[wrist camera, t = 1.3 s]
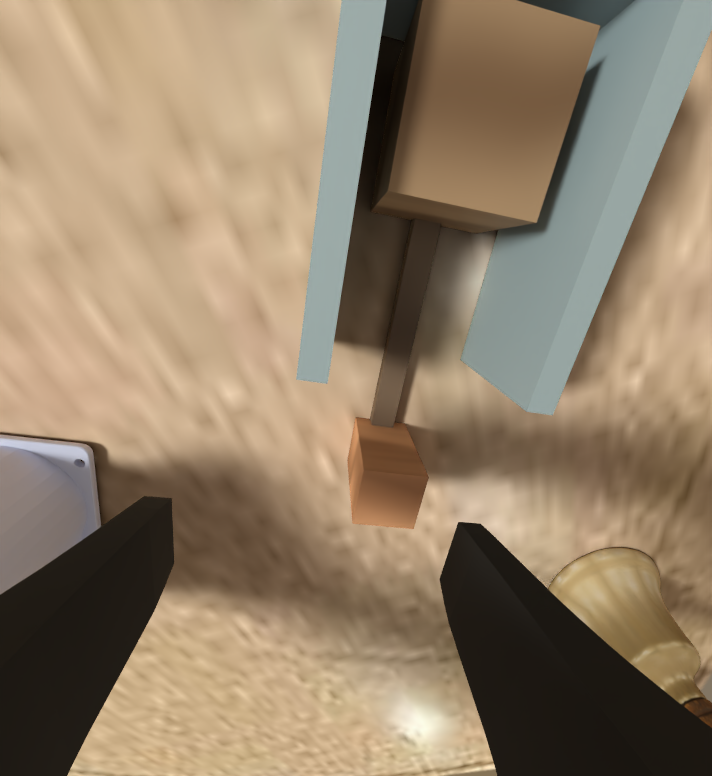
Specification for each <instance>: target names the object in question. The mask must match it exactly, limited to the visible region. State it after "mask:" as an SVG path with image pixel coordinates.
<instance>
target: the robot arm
mask: <svg viewBox="0 0 712 776" xmlns="http://www.w3.org/2000/svg"><path fill="white" fill-rule="evenodd" d="M80 459H81V460H83V461H84V462H85V463H83V462H81V461H80ZM173 564H174V548H173V523H172V498H160V497H147V496H144V497H143V498H141V499H140V500H139V501H137V502H136V503H134V504H133V505H131V506H130V507H128V508H127V509H126V510H124V511H123V512H121V513H120V514H118V515H117V516H116V517H114V518H113V519H111V520H110V521H109V522H107V523H106V524H104V525H103V526H101V520H100V511H99V501H98V492H97V483H96V473H95V464H94V455H93V450H92V449H91V448H90V446H88V445H86V444H82V443H74V442H64V441H55V440H46V439H37V438H27V437H18V436H9V435H0V776H67V775H68V773H69V770H70V768H71V766H72V764H73V762H74V760H75V758H76V756H77V754H78V752H79V750H80V748H81V746H82V744H83V742H84V740H85V738H86V737H87V735H88V733H89V731H90V729H91V727H92V725H93V723H94V722H95V720H96V718H97V716H98V714H99V712H100V710H101V709H102V707H103V705H104V703H105V701H106V699H107V698H108V696H109V694H110V692H111V690H112V688H113V686H114V685H115V683H116V681H117V679H118V677H119V675H120V674H121V672H122V670H123V668H124V666H125V664H126V662H127V661H128V659H129V657H130V655H131V653H132V651H133V650H134V648H135V646H136V644H137V642H138V640H139V638H140V636H141V635H142V633H143V631H144V629H145V627H146V625H147V623H148V622H149V620H150V618H151V616H152V614H153V612H154V610H155V608H156V606H157V603H158V601H159V599H160V596H161V594H162V592H163V589H164V587H165V584H166V582H167V579H168V577H169V574H170V572H171V569H172V567H173ZM440 583H441V589H442V594H443V599H444V604H445V608H446V612H447V617H448V621H449V625H450V628H451V631H452V634H453V637H454V641H455V644H456V647H457V650H458V653H459V656H460V659H461V662H462V665H463V668H464V671H465V674H466V677H467V680H468V683H469V686H470V689H471V692H472V695H473V698H474V701H475V704H476V707H477V710H478V713H479V716H480V719H481V722H482V725H483V728H484V731H485V734H486V738H487V741H488V744H489V748H490V751H491V754H492V758H493V761H494V764H495V768H496V772H497V776H712V728H711V727H710V726H709V725H707V724H706V723H705V722H703V721H702V720H701V719H699V718H698V717H697V716H696V715H694V714H693V713H692V712H690V711H689V710H688V709H686V708H685V707H684V706H683V705H681V704H680V703H679V702H677V701H676V700H675V699H674V698H672V697H671V696H670V695H669V694H668V693H666V692H665V691H664V690H663V689H661V688H660V687H659V686H658V685H656V684H655V683H654V682H653V681H652V680H650V679H649V678H648V677H647V676H645V675H644V674H643V673H642V672H640V671H639V670H638V669H637V668H635V667H634V666H633V665H632V664H631V663H629V662H628V661H627V660H626V659H625V658H624V657H622V656H621V655H620V654H619V653H618V652H616V651H615V650H614V649H613V648H612V647H611V646H610V645H608V644H607V643H606V642H605V641H604V640H603V639H602V638H601V637H599V636H598V635H597V634H596V633H595V632H594V631H593V630H592V629H590V628H589V627H588V626H587V625H586V624H585V623H584V622H583V621H581V620H580V619H579V618H578V617H577V616H576V615H575V614H574V613H573V612H572V611H571V610H570V609H568V608H567V607H566V606H565V605H564V604H563V603H562V602H561V601H560V600H559V599H558V598H557V597H556V596H555V595H554V594H552V593H551V592H550V591H549V590H548V589H547V588H546V587H545V586H544V585H543V584H542V583H541V582H540V581H539V580H538V579H537V578H536V577H535V576H534V575H533V574H532V573H531V572H530V571H529V570H528V569H527V568H526V567H525V566H524V565H523V564H522V563H521V562H520V561H519V560H518V559H517V558H516V557H515V556H514V555H512V554H511V553H510V552H509V551H508V550H507V549H506V548H505V547H504V546H503V545H502V544H501V543H500V542H499V541H498V540H497V539H496V538H495V537H494V536H493V535H492V534H491V533H490V532H489V531H488V530H487V529H486V528H485V527H483V526H482V525H481V524H477V523H464V522H458V525H457V528H456V531H455V534H454V537H453V540H452V543H451V546H450V549H449V552H448V555H447V558H446V561H445V565H444V568H443V571H442V574H441V577H440Z"/></svg>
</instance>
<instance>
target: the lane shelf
mask: <svg viewBox="0 0 712 776" xmlns="http://www.w3.org/2000/svg"><path fill="white" fill-rule="evenodd" d="M517 1H520V2H524V3H527V4H530V5H534V6H537V7H540V8H544V9H547V10H550V11H554V12H557V13H560V14H564V15H567V16H570V17H573V18H577V19H580V20H583V21H587V22H590V23H593V24H597V25H600V29H599V32H598V35H597V38H596V41H595V44H594V47H593V51H592V54H591V57H590V60H589V63H588V66H587V69H586V72H585V75H584V78H583V81H582V84H581V88H580V91H579V94H578V97H577V100H576V103H575V106H574V109H573V112H572V115H571V118H570V121H569V125H568V128H567V131H566V134H565V137H564V140H563V143H562V146H561V149H560V152H559V155H558V158H557V162H556V165H555V168H554V171H553V174H552V177H551V180H550V183H549V186H548V189H547V192H546V195H545V199H544V202H543V205H542V208H541V211H540V214H539V217H538V220H537V223H533V224H527V225H521V226H516V227H510V228H504V229H498V232H497V236H496V239H495V243H494V246H493V250H492V253H491V257H490V260H489V263H488V267H487V270H486V274H485V277H484V281H483V284H482V287H481V291H480V294H479V298H478V301H477V305H476V308H475V312H474V315H473V318H472V322H471V325H470V329H469V332H468V336H467V339H466V342H465V346H464V349H463V353H462V356H461V361H463V362H464V363H465V364H466V365H468V366H469V367H470V368H472V369H473V370H474V371H475V372H477V373H478V374H479V375H480V376H482V377H483V378H484V379H486V380H487V381H488V382H489V383H491V384H492V385H493V386H494V387H496V388H497V389H498V390H500V391H501V392H502V393H503V394H505V395H506V396H507V397H508V398H510V399H511V400H512V401H514V402H515V403H516V404H517V405H519V406H520V407H521V408H522V409H524V410H525V411H526V412H532V413H540V414H547V415H553V413H554V411H555V408H556V406H557V403H558V401H559V399H560V396H561V394H562V391H563V389H564V386H565V384H566V382H567V379H568V377H569V374H570V372H571V369H572V367H573V365H574V362H575V360H576V357H577V355H578V352H579V350H580V348H581V345H582V343H583V340H584V338H585V336H586V333H587V331H588V328H589V326H590V323H591V321H592V319H593V316H594V314H595V311H596V309H597V306H598V304H599V302H600V299H601V297H602V294H603V292H604V289H605V287H606V285H607V282H608V280H609V277H610V275H611V272H612V270H613V268H614V265H615V263H616V260H617V258H618V255H619V253H620V251H621V248H622V246H623V243H624V241H625V239H626V236H627V234H628V231H629V229H630V226H631V224H632V222H633V219H634V217H635V214H636V212H637V209H638V207H639V205H640V202H641V200H642V197H643V195H644V192H645V190H646V188H647V185H648V183H649V180H650V178H651V175H652V173H653V171H654V168H655V166H656V163H657V161H658V158H659V156H660V154H661V151H662V149H663V146H664V144H665V142H666V139H667V137H668V134H669V132H670V129H671V127H672V125H673V122H674V120H675V117H676V115H677V112H678V110H679V108H680V105H681V103H682V100H683V98H684V95H685V93H686V91H687V88H688V86H689V83H690V81H691V78H692V76H693V74H694V71H695V69H696V66H697V64H698V61H699V59H700V57H701V54H702V52H703V49H704V47H705V45H706V42H707V40H708V37H709V35H710V32H711V30H712V0H517ZM417 3H418V0H342V3H341V11H340V20H339V28H338V36H337V45H336V53H335V61H334V70H333V78H332V86H331V95H330V103H329V111H328V120H327V128H326V136H325V145H324V153H323V161H322V170H321V178H320V186H319V195H318V203H317V211H316V220H315V228H314V236H313V245H312V253H311V261H310V270H309V278H308V286H307V295H306V303H305V311H304V320H303V328H302V336H301V344H300V353H299V361H298V369H297V378H296V379H297V380H304V381H311V382H318V383H325V384H327V383H328V376H329V370H330V363H331V357H332V350H333V344H334V337H335V331H336V324H337V318H338V312H339V305H340V299H341V292H342V286H343V279H344V273H345V266H346V260H347V253H348V247H349V240H350V234H351V227H352V221H353V214H354V208H355V201H356V195H357V188H358V182H359V175H360V169H361V162H362V156H363V149H364V143H365V137H366V130H367V124H368V117H369V111H370V104H371V98H372V91H373V85H374V78H375V72H376V65H377V59H378V52H379V46H380V39H381V35H383V36H387V37H390V38H394V39H398V40H401V41H405V39H406V36H407V33H408V30H409V27H410V24H411V21H412V18H413V15H414V12H415V9H416V6H417Z"/></svg>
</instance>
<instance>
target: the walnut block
mask: <svg viewBox="0 0 712 776" xmlns="http://www.w3.org/2000/svg"><path fill="white" fill-rule="evenodd" d="M599 29H600V25H597V24H593V23H590V22H587V21H583V20H580V19H577V18H573V17H570V16H567V15H564V14H560V13H557V12H554V11H550V10H547V9H544V8H540V7H537V6H534V5H530V4H527V3H524V2H520V1H517V0H418V3H417V6H416V9H415V12H414V15H413V18H412V21H411V24H410V27H409V30H408V33H407V36H406V39H405V42H404V45H403V48H402V51H401V54H400V57H399V60H398V63H397V65H396V68H395V71H394V76H393V82H392V88H391V94H390V100H389V106H388V112H387V118H386V123H385V129H384V135H383V141H382V147H381V153H380V159H379V165H378V171H377V177H376V182H375V188H374V194H373V200H372V206H371V212H375V213H379V214H384V215H389V216H394V217H399V218H404V219H408V220H411V225H410V230H409V235H408V240H407V244H406V249H405V254H404V259H403V264H402V268H401V273H400V278H399V283H398V288H397V292H396V297H395V302H394V307H393V311H392V316H391V321H390V326H389V331H388V335H387V340H386V345H385V350H384V355H383V359H382V364H381V369H380V374H379V379H378V383H377V388H376V393H375V398H374V403H373V407H372V412H371V417H370V419H364V418H357V417H356V419H355V424H354V430H353V435H352V440H351V445H350V450H349V456H348V472H349V485H350V497H351V510H352V522H353V524H364V525H375V526H386V527H398V528H409V529H414V525H415V522H416V519H417V515H418V512H419V508H420V505H421V502H422V498H423V495H424V491H425V488H426V485H427V481H428V478H429V477H428V475H427V472H426V470H425V468H424V466H423V463H422V461H421V459H420V457H419V454H418V452H417V450H416V448H415V445H414V443H413V441H412V439H411V436H410V434H409V432H408V430H407V427H406V425H405V424H403V423H395V418H396V414H397V409H398V405H399V401H400V397H401V393H402V388H403V384H404V380H405V376H406V371H407V367H408V363H409V359H410V355H411V350H412V346H413V342H414V338H415V333H416V329H417V325H418V321H419V317H420V312H421V308H422V304H423V300H424V295H425V291H426V287H427V283H428V279H429V274H430V270H431V266H432V262H433V257H434V253H435V249H436V245H437V241H438V236H439V232H440V228H441V226H442V227H447V228H452V229H457V230H462V231H467V232H471V233H481V232H487V231H493V230H498V229H504V228H510V227H516V226H521V225H527V224H533V223H537V220H538V217H539V214H540V211H541V208H542V205H543V202H544V199H545V195H546V192H547V189H548V186H549V183H550V180H551V177H552V174H553V171H554V168H555V165H556V162H557V158H558V155H559V152H560V149H561V146H562V143H563V140H564V137H565V134H566V131H567V128H568V125H569V121H570V118H571V115H572V112H573V109H574V106H575V103H576V100H577V97H578V94H579V91H580V88H581V84H582V81H583V78H584V75H585V72H586V69H587V66H588V63H589V60H590V57H591V54H592V51H593V47H594V44H595V41H596V38H597V35H598V32H599Z"/></svg>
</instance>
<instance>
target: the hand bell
mask: <svg viewBox="0 0 712 776" xmlns="http://www.w3.org/2000/svg"><path fill="white" fill-rule="evenodd" d="M660 586H661V581H660V575H659V572H658V569H657V567H656V565H655V563H654V562H653V561H652V560H651V558H650V557H648V556H647V555H645V554H644V553H642V552H640V551H637V550H634V549H629V548H608V549H602V550H598V551H595V552H592V553H589V554H587V555H585V556H583V557H580V558H579V559H577V560H575V561H573V562H572V563H570V564H568V565H567V566H566V567H564V568H563V569H562V570H561V572H560V573H558V574H557V576H556V577H555V578H554V580H553V581H552V583H551V584H550V586H549V588H548V590H549V591H550V592H551V593H552V594H554V595H555V596H556V597H557V598H558V599H559V600H560V601H561V602H562V603H563V604H564V605H565V606H566V607H567V608H568V609H570V610H571V611H572V612H573V613H574V614H575V615H576V616H577V617H578V618H579V619H580V620H581V621H583V622H584V623H585V624H586V625H587V626H588V627H589V628H590V629H592V630H593V631H594V632H595V633H596V634H597V635H598V636H599V637H601V638H602V639H603V640H604V641H605V642H606V643H607V644H608V645H610V646H611V647H612V648H613V649H614V650H615V651H616V652H618V653H619V654H620V655H621V656H622V657H624V658H625V659H626V660H627V661H628V662H629V663H631V664H632V665H633V666H634V667H635V668H637V669H638V670H639V671H640V672H642V673H643V674H644V675H645V676H647V677H648V678H649V679H650V680H652V681H653V682H654V683H655V684H656V685H658V686H659V687H660V688H661V689H663V690H664V691H665V692H666V693H668V694H669V695H670V696H671V697H672V698H674V699H675V700H676V701H677V702H679V703H680V704H681V705H683V706H684V707H685V708H686V709H688V710H689V711H690V712H692V713H693V714H694V715H696V716H697V717H698V718H699V719H701V720H702V721H703V722H705V723H706V724H707V725H709V726H710V727H711V728H712V703H711V702H710V701H708V700H707V699H706V697H705V696H704V695H703V693H702V692H701V691H700V690H699V689H698V687H697V686H696V684H695V683H694V676H695V674H696V673H697V671H698V670H699V667H700V656H699V653H698V651H697V650H696V648H695V647H694V646H693V644H692V643H691V642H690V641H689V639H688V638H687V637H686V636H685V634H684V633H683V631H682V630H681V629H680V627H679V626H678V625H677V623H676V622H675V620H674V619H673V617H672V616H671V614H670V613H669V611H668V609H667V607H666V606H665V604H664V601H663V599H662V596H661V592H660Z"/></svg>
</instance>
